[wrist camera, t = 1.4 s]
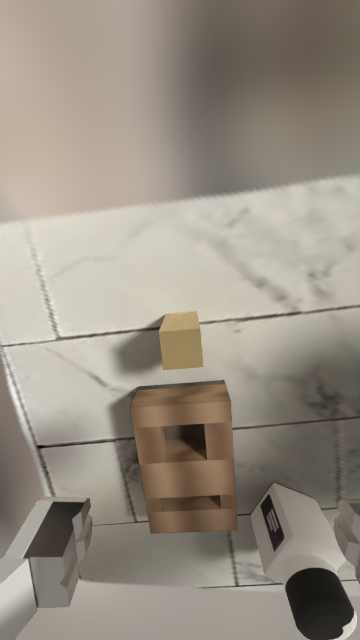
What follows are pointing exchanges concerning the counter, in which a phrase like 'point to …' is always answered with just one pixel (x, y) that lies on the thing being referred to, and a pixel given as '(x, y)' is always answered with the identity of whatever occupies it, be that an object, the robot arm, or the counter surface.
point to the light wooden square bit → (181, 341)
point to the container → (304, 562)
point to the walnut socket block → (186, 456)
